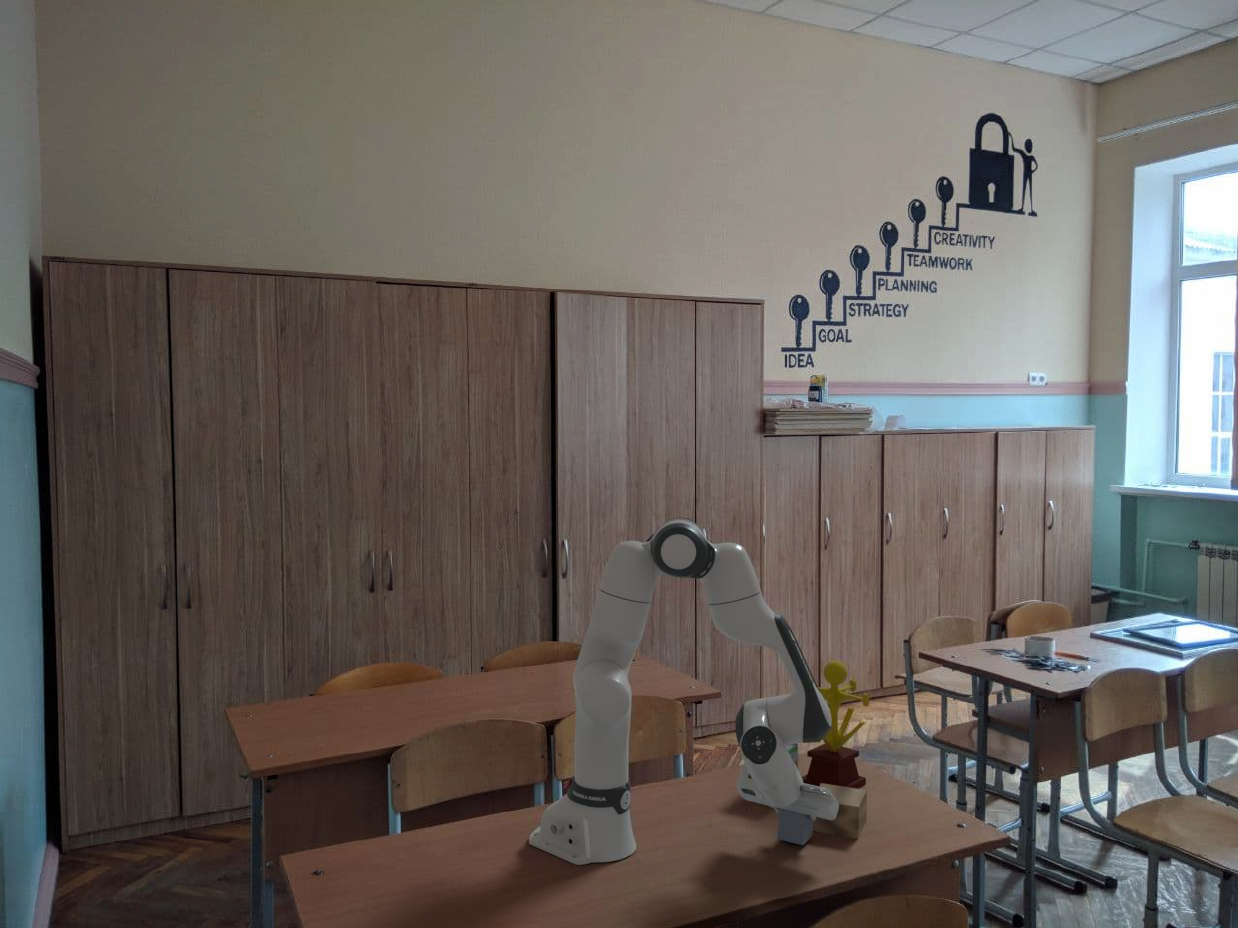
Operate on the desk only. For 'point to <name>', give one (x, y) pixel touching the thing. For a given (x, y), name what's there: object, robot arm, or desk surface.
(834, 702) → the trophy
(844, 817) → the walnut box
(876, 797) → the desk surface
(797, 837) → the lidded storage box
